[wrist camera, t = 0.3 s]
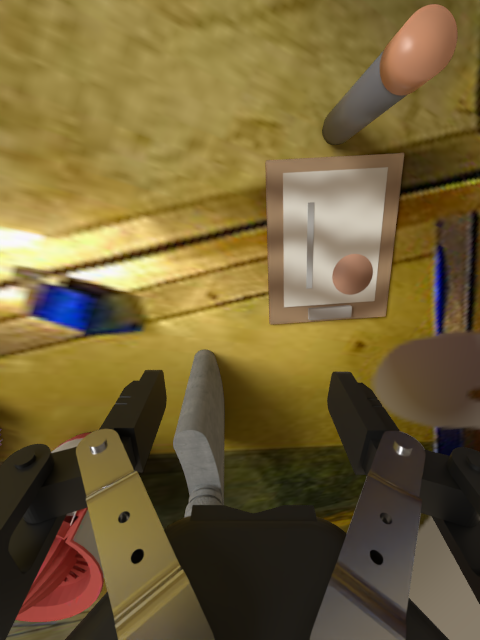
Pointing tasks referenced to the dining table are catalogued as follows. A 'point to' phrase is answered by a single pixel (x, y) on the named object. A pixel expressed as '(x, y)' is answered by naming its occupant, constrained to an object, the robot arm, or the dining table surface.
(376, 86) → the marker
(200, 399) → the hip flask
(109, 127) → the dining table surface
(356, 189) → the clipboard
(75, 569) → the citrus juicer
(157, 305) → the dining table surface
